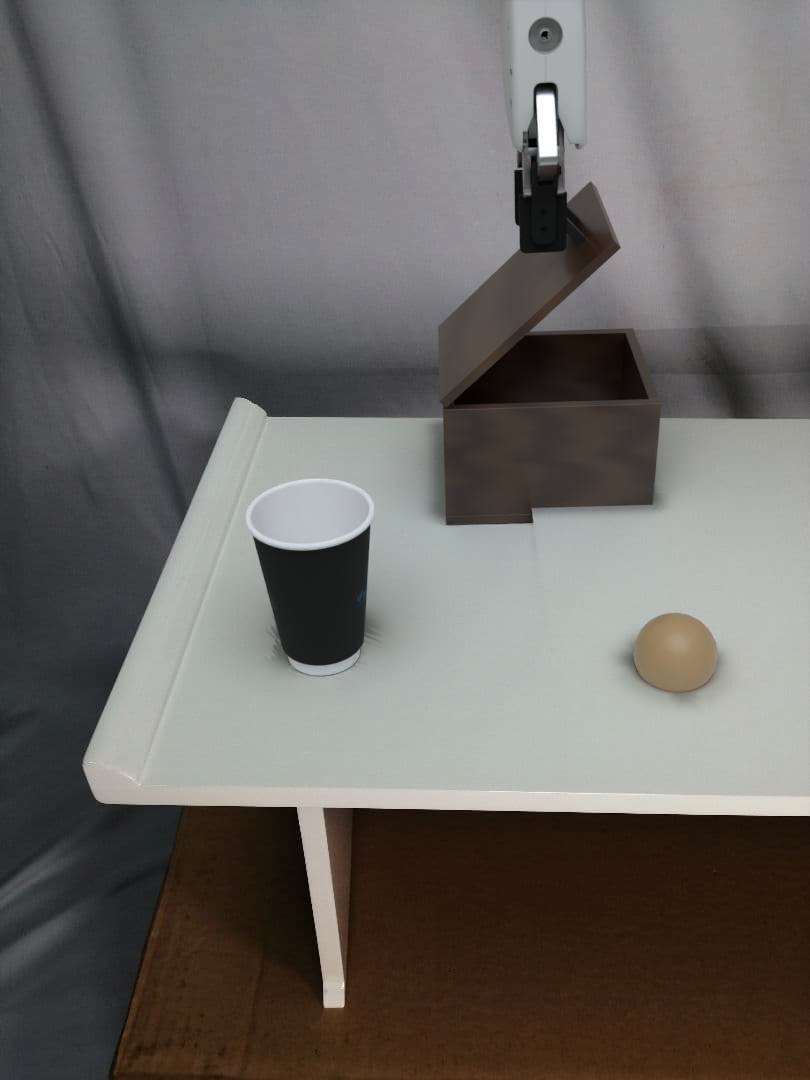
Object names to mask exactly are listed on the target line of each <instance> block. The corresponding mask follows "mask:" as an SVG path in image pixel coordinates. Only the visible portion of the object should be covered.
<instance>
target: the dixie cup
mask: <svg viewBox="0 0 810 1080" xmlns="http://www.w3.org/2000/svg"><path fill="white" fill-rule="evenodd" d="M375 516H376V504H375V502H374V499H373V498H372V496H371V495H370V494H369V493H368V492H367V491H365V490H364V489H363V488H361V487H359V486H358V485H355V484H354V483H351V482H348V481H344V480H341V479H332V478H323V477H322V478H321V477H318V478H317V477H315V478H314V477H313V478H303V479H297V480H291V481H287V482H283V483H280V484H277V485H275V486H273V487H271V488H269V489H267V490H265V491H263V492H261V493H260V494H259V495H257V496H256V497H255V498H254V499H253V500H252V501H251V502H250V503H249V504H248V507H247V508H246V510H245V514H244V524H245V526H246V529H247V531H248V532H249V534H250V535H251V536H252V539H253V543H254V546H255V550H256V553H257V557H258V561H259V566H260V569H261V573H262V576H263V581H264V585H265V588H266V592H267V595H268V599H269V603H270V607H271V610H272V614H273V618H274V622H275V627H276V629H277V632H278V637H279V641H280V646H281V648H282V650H283V653H285V654H286V656H287V658H288V661H289V663H290V665H291V666H292V667H293V668H294V669H295V670H296V671H298V672H300V673H302V674H306V675H309V676H317V677H318V676H321V677H323V676H330V675H336V674H338V673H342V672H343V671H346V670H347V669H350V668H351V667H352V666H353V665H354V664H356V662H357V661H358V659H359V657H360V654H361V648H362V646H363V644H364V641H365V633H366V631H365V630H366V629H365V628H366V613H367V612H366V611H367V598H368V597H367V596H368V578H369V561H370V560H369V559H370V543H371V542H370V541H371V526H372V523H373V522H374V519H375Z"/></svg>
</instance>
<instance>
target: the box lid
mask: <svg viewBox="0 0 810 1080" xmlns="http://www.w3.org/2000/svg"><path fill="white" fill-rule="evenodd" d="M620 249H622V247H621V244H620V242H619V239H618V237H617V235H616V232H615V229H614V227H613V225H612V222H611V220H610V216H609V215H608V213H607V210H606V207H605V205H604V202H603V200H602V198H601V195H600V192H599V191H598V189H597V186H596V185H595V184H594V183H593V182H592V181H591V180H590V181H589V182H587V184H586V185H584V187H582V188H581V189H580V190H579V191H578V192H577V193H576V194H575V195H574V196H573V197H572V198H571V199H570V200H568V201H567V243H566V249H565V250H564V251H561V252H544V253H522V252H521V250H520V248H519V249H517V251H515V252H514V253H513V254H512V255H511V256H510V257H509V258H508V259H507V260H506V261H505V262H504V263H502V265H501V266H500V267H499V268H498V269H497V270H495V272H493V274H491V275H490V276H489V277H488V278H487V279H486V280H485V281H484V282H483V283H482V284H481V285H480V286H479V287H478V288H477V289H476V290H474V291H473V292H472V294H471V295H469V296H468V298H466V299H465V301H463V302H462V303H461V304H460V305H459V306H458V307H457V308H456V309H455V310H454V311H453V312H452V313H451V314H450V315H449V316H447V318H445V320H443V321H442V322H441V323H440V324H439V325H438V327H437V339H438V341H437V342H438V343H437V344H438V347H437V349H438V391H439V394H438V395H439V397H438V398H439V403H440V404H441V405H442V406H443V405H444V406H445V407H448V406H449V405H450V404H451V403H452V402H453V401H454V400H455V399H456V398H457V397H458V396H460V395H461V394H462V393H463V392H464V391H465V390H466V389H467V388H468V387H469V386H471V385H472V384H473V383H474V382H475V381H476V380H477V379H478V378H479V377H480V376H481V375H483V374H484V373H485V372H486V371H487V370H488V369H489V368H490V367H491V366H492V365H493V364H495V363H496V362H497V361H498V360H499V359H500V358H501V357H502V356H503V355H504V354H506V353H507V352H508V351H509V350H510V349H511V348H512V347H513V346H514V345H515V344H516V343H518V342H519V341H520V340H521V339H522V338H523V337H524V336H525V335H526V334H527V333H529V332H532V330H533V329H534V328H535V327H537V326H538V325H539V324H540V323H541V322H542V321H543V320H544V319H545V318H546V317H547V316H548V315H550V313H552V312H553V311H554V310H555V309H556V308H557V307H558V306H559V305H561V304H562V303H563V302H564V301H565V300H566V299H567V298H569V296H570V295H571V294H572V293H573V292H575V291H576V290H577V289H578V288H580V286H581V285H582V284H584V283H585V282H586V281H587V280H588V279H589V278H590V277H591V276H592V275H593V274H594V273H596V271H597V270H598V269H600V268H601V267H602V266H603V265H604V264H605V263H606V262H607V261H608V260H610V259H611V258H612V257H613V256H614V255H615V254H616V253H617V252H618V251H619V250H620Z"/></svg>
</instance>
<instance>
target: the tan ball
mask: <svg viewBox="0 0 810 1080" xmlns="http://www.w3.org/2000/svg"><path fill="white" fill-rule="evenodd" d="M718 656H719V655H718V646H717V642H716V639H715V637H714V635H713V633H712V632H711V630H710V629H709V627H708V626H707V625H706V624H704V622H702V621H701V620H700V619H698V618H697V617H695V616H692V615H690V614H688V613H687V614H686V613H683V612H667V613H663V614H659V615H657V616H655V617H653V618H651V619H649V620H648V621H647V622H646V623H645V624H644V626H642V628H641V629H640V630H639V632H638V634H637V635H636V638H635V641H634V644H633V659H634V660H633V661H634V665H635V667H636V671H637V672H638V674H639V676H640V677H641V679H643V680H644V681H645V682H646V683H648V684H649V685H651V686H652V687H653V688H656V689H660V690H663V691H667V692H673V693H685V692H691V691H695V690H697V689H700V688H701V687H703V686H705V684H706V683H708V682H709V680H710V679H711V677H712V676H713V674H714V672H715V670H716V668H717V662H718Z"/></svg>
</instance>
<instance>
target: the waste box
mask: <svg viewBox="0 0 810 1080" xmlns="http://www.w3.org/2000/svg"><path fill="white" fill-rule="evenodd" d="M661 413H662V402H661V399H660V396H659V393H658V391H657V388H656V385H655V382H654V381H653V378H652V373H651V371H650V369H649V367H648V363H647V361H646V359H645V356H644V353H643V351H642V347H641V345H640V342H639V339H638V337H637V334H636V331H635V329H634V327H633V328H632V327H631V328H629V327H627V328H602V329H601V328H599V329H595V328H594V329H569V330H565V329H564V330H537V331H530V332H529V333H527V334H526V335H525V336H524V337H523V338H522V339H521V340H520V341H519V342H518V343H516V344H515V345H514V346H513V347H512V348H511V349H510V350H509V351H508V352H507V353H506V354H504V355H503V356H502V357H501V358H500V359H499V360H498V361H497V362H496V363H495V364H493V365H492V366H491V367H490V368H489V369H488V370H487V371H486V372H485V373H484V374H483V375H481V376H480V377H479V378H478V379H477V380H476V381H475V382H474V383H473V384H472V385H471V386H469V387H468V388H467V389H466V390H465V391H464V392H463V393H462V394H461V395H460V396H458V397H457V398H456V399H455V400H454V401H453V402H452V403H451V404H450V405H449V406H448V407H445V406H444V405H443V404H442V425H443V426H442V427H443V430H442V431H443V432H442V434H443V466H444V468H443V469H444V504H445V505H444V507H445V508H444V509H445V525H449V526H450V525H451V526H452V525H486V524H487V525H488V524H489V525H490V524H523V523H525V524H526V523H528V524H529V523H534V515H533V509H550V508H552V509H553V508H586V507H588V508H589V507H591V508H592V507H623V506H624V507H625V506H626V507H627V506H653V505H654V495H655V484H656V473H657V461H658V460H657V459H658V451H659V450H658V449H659V440H660V439H659V437H660V425H661V416H662V414H661Z"/></svg>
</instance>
